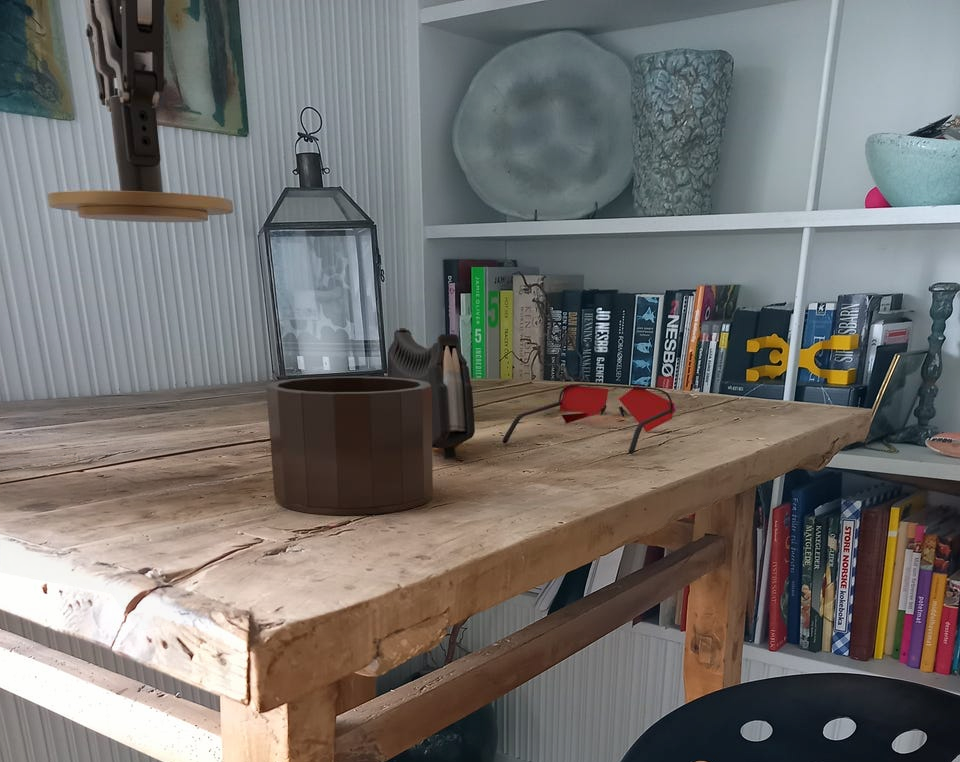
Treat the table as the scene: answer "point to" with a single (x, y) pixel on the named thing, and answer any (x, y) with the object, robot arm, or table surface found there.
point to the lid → (138, 192)
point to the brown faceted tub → (351, 444)
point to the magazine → (438, 385)
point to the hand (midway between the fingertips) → (138, 166)
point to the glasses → (593, 401)
